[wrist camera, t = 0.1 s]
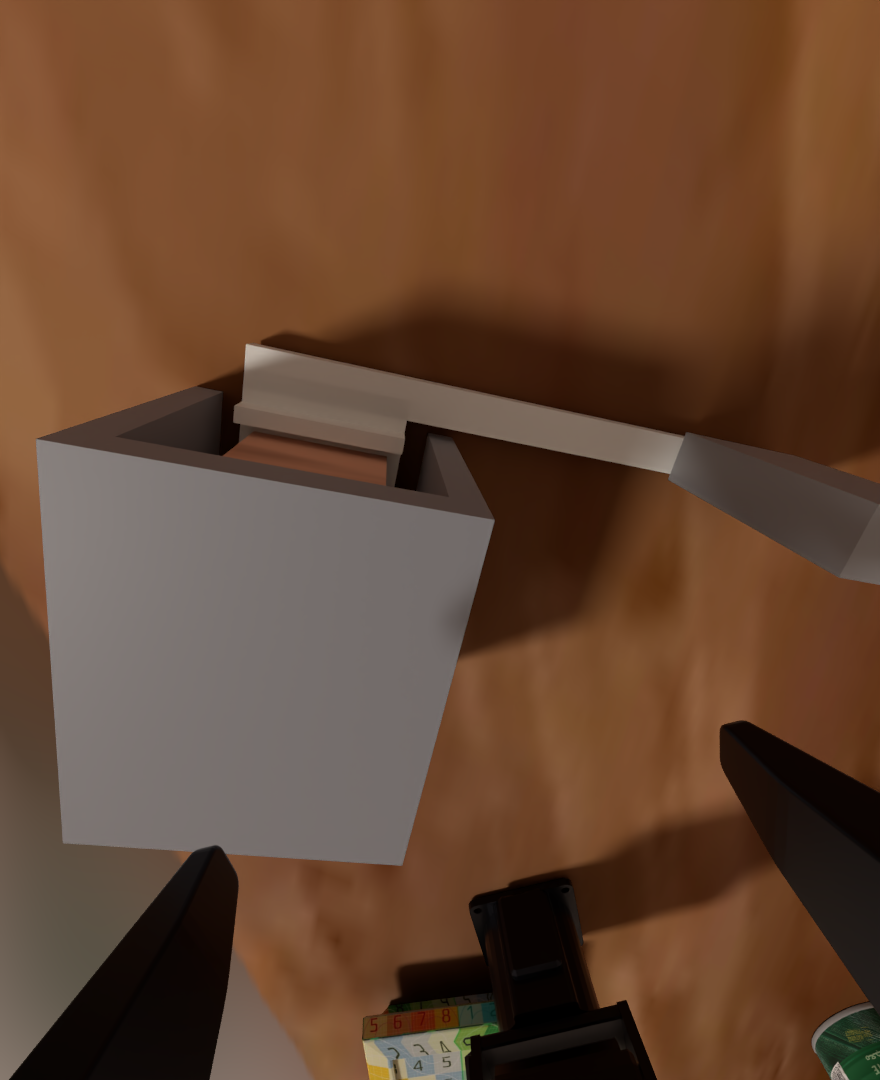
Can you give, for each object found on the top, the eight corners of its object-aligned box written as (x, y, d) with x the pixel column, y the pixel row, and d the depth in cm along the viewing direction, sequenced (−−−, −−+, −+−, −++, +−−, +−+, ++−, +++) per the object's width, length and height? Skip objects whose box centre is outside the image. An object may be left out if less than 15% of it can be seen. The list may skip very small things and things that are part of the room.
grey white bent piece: (696, 631, 26) (862, 802, 17) (235, 561, 23) (128, 728, 13) (778, 450, 23) (1043, 538, 13) (253, 336, 19) (126, 348, 10)
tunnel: (398, 677, 26) (402, 865, 17) (184, 650, 24) (62, 843, 15) (451, 437, 21) (494, 520, 13) (195, 386, 20) (35, 438, 11)
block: (366, 571, 22) (359, 636, 18) (243, 552, 21) (202, 615, 17) (386, 456, 20) (385, 495, 16) (253, 431, 20) (211, 465, 15)
